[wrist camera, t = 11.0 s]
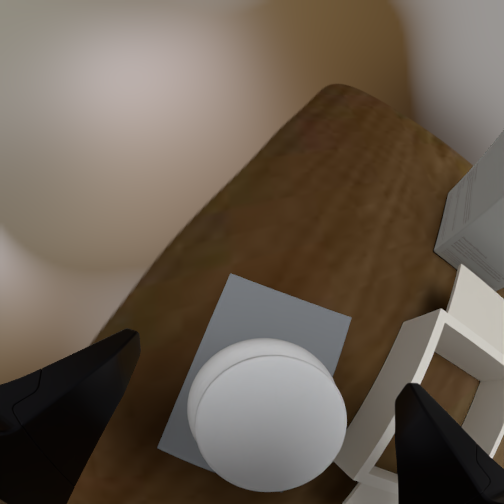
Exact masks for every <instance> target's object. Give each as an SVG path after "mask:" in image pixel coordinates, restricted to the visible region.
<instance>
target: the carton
mask: <svg viewBox="0 0 504 504" xmlns="http://www.w3.org/2000/svg"><path fill="white" fill-rule="evenodd" d="M434 352H436V353H437V354H439V355H441V356H442V357H444V358H445V359H447V360H448V361H450V362H451V363H453V364H455V365H456V366H458V367H459V368H461V369H462V370H464V371H465V372H467V373H469V374H470V375H472V376H473V377H475V378H476V379H478V380H479V381H480V384H479V386H478V389H477V392H476V394H475V397H474V399H473V402H472V404H471V407H470V409H469V411H468V414H467V416H466V418H465V420H464V423H463V425H462V428H463V429H464V430H465V431H466V432H467V433H468V434H469V436H470V437H471V438H472V439H473V440H474V441H475V442H476V444H478V445H479V446H480V447H481V448H482V449H483V450H484V451H485V452H486V453H487V454H488V455H489V456H490V457H491V458H493V456H494V454H495V452H496V450H497V448H498V446H499V444H500V441H501V439H502V437H503V435H504V299H503V298H502V297H501V296H500V295H499V294H497V293H496V292H495V291H494V290H493V289H492V288H491V287H489V286H488V285H487V284H486V283H485V282H484V281H482V280H481V279H480V278H479V277H478V276H476V275H475V274H474V273H473V272H471V271H470V270H469V269H468V268H466V267H465V266H464V265H463V264H460V265H459V266H458V271H457V275H456V278H455V282H454V286H453V289H452V293H451V296H450V300H449V303H448V306H447V309H446V311H444V310H443V309H441V308H440V309H438V310H435V311H433V312H430V313H427V314H425V315H422V316H419V317H416V318H414V319H411V320H408V321H405V322H403V324H402V326H401V329H400V331H399V333H398V336H397V338H396V340H395V342H394V344H393V346H392V349H391V351H390V353H389V355H388V357H387V359H386V361H385V363H384V365H383V367H382V369H381V371H380V373H379V375H378V377H377V379H376V380H375V382H374V384H373V386H372V388H371V390H370V391H369V393H368V395H367V397H366V399H365V400H364V402H363V404H362V405H361V407H360V409H359V410H358V412H357V414H356V415H355V417H354V419H353V420H352V422H351V424H350V425H349V427H348V428H347V430H346V434H345V438H344V441H343V444H342V447H341V449H340V451H339V453H338V454H337V456H336V457H335V459H334V460H333V461H334V462H335V463H336V464H337V465H338V466H339V467H340V468H341V469H342V470H343V471H344V472H345V473H346V474H347V475H348V476H349V477H350V478H351V479H352V480H355V481H357V482H359V483H358V484H357V485H356V487H355V488H354V489H353V491H352V492H351V493H350V494H349V496H348V497H347V498H346V499H345V501H344V502H343V503H342V504H398V474H395V473H392V472H390V471H387V470H384V469H381V468H379V467H376V466H374V465H375V463H376V462H377V460H378V459H379V457H380V456H381V454H382V453H383V451H384V450H385V448H386V447H387V445H388V443H389V442H390V440H391V438H392V437H393V435H394V433H395V400H396V398H397V396H398V395H399V393H400V392H401V391H402V389H403V388H404V386H405V385H406V384H407V383H418V384H419V385H420V384H421V381H422V379H423V377H424V375H425V373H426V370H427V368H428V366H429V363H430V361H431V358H432V356H433V353H434Z"/></svg>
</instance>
